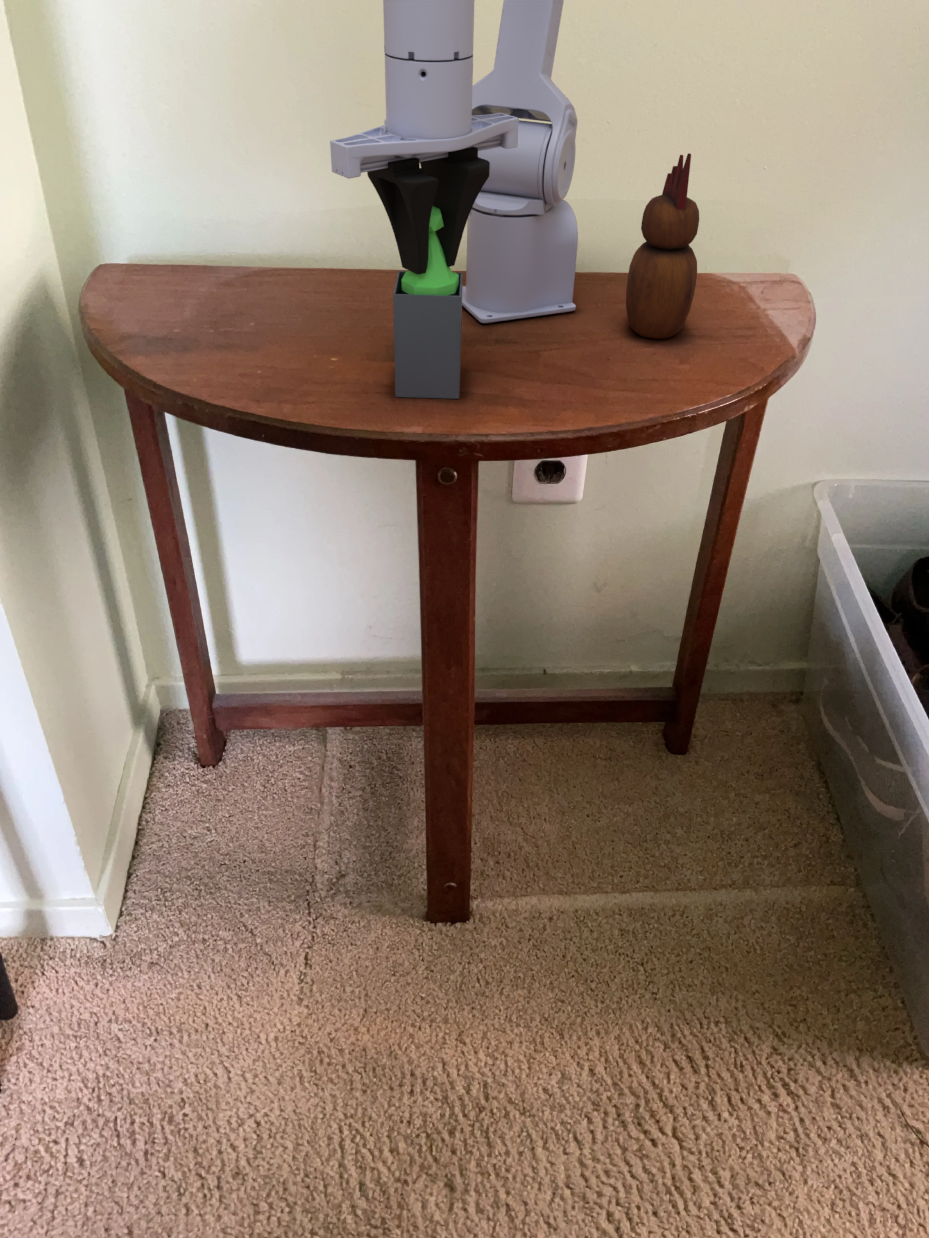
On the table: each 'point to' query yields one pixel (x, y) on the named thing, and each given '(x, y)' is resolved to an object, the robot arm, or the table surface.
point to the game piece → (432, 267)
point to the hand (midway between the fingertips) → (428, 266)
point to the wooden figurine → (664, 260)
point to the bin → (427, 343)
